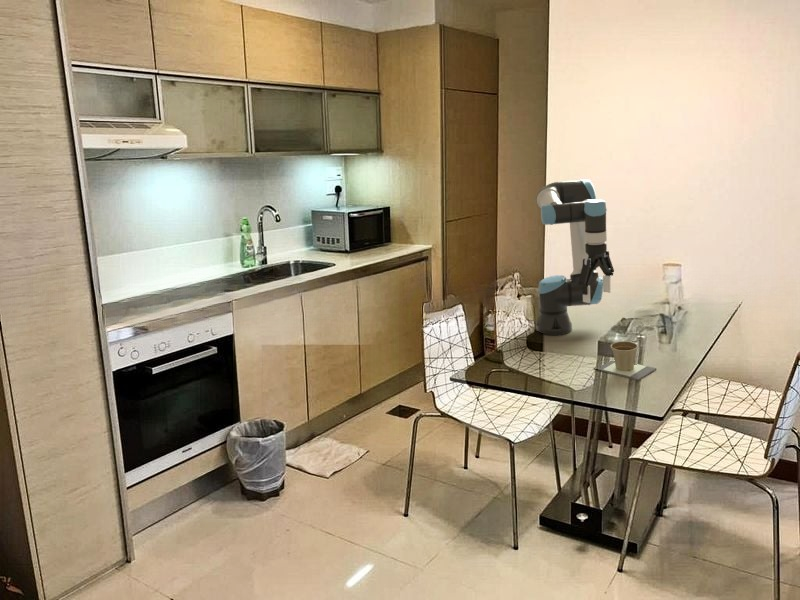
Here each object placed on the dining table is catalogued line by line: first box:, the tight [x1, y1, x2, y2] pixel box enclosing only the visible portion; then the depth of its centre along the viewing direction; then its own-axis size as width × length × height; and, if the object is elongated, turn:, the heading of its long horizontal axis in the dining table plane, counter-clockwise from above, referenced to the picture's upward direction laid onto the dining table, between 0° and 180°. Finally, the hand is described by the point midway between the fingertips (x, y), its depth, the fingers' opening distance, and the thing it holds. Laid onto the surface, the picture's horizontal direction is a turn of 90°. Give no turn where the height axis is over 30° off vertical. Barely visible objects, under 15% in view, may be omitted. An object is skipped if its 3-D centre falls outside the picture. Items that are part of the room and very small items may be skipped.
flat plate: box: [593, 361, 657, 381], centre depth 242 cm, size 12×18×1 cm, turn 40°
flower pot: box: [610, 340, 639, 371], centre depth 240 cm, size 9×9×9 cm
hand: (596, 297), depth 249 cm, fingers open, 13 cm apart
